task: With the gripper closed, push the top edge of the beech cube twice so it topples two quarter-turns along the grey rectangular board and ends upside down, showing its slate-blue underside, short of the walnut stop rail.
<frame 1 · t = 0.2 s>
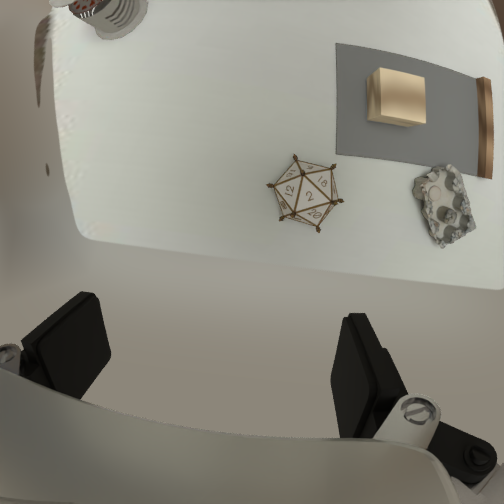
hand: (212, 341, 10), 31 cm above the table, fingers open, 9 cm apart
block: (386, 102, 33), resting on grey rectangular board
game die: (303, 189, 38), on the table
stop rail: (481, 127, 32), on the table
carved stone fragment: (438, 202, 37), on the table, touching grey rectangular board
grey rectangular board: (416, 109, 33), on the table
french press: (122, 10, 31), on the table
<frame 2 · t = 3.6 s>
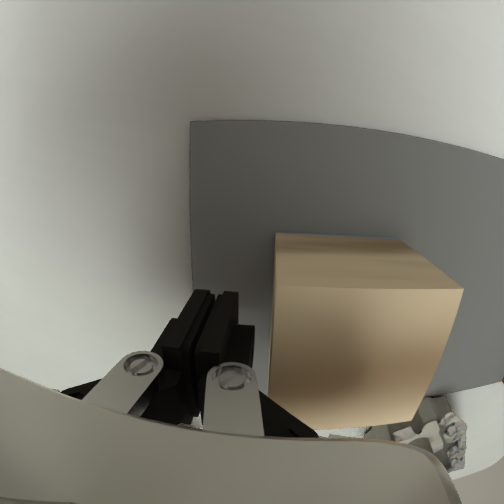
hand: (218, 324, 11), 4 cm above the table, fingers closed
block: (333, 293, 14), resting on grey rectangular board, touching gripper
carved stone fragment: (414, 434, 18), on the table, touching grey rectangular board
grey rectangular board: (414, 292, 14), on the table
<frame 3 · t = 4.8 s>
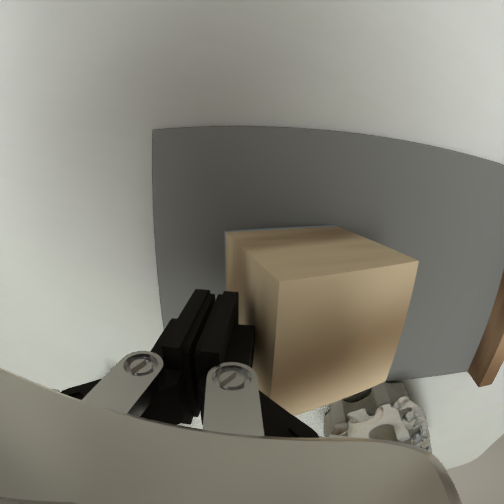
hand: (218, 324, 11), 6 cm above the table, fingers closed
block: (280, 284, 15), point 2 cm above the table, tilted 24°, touching gripper, grey rectangular board
carved stone fragment: (377, 420, 20), on the table, touching grey rectangular board
grey rectangular board: (356, 276, 17), on the table
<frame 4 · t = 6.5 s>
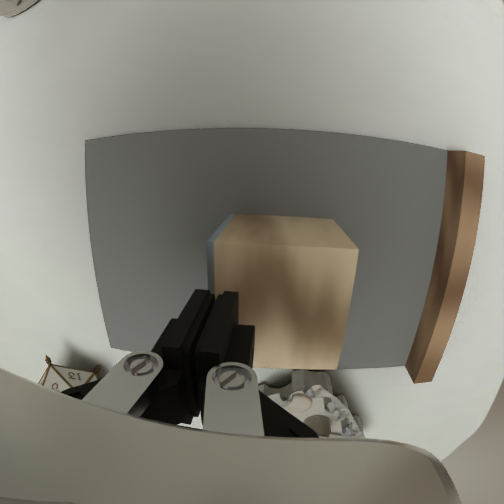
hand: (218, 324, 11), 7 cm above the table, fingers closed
block: (220, 281, 15), point 3 cm above the table, tilted 90°, touching grey rectangular board
game die: (91, 378, 24), on the table
stop rail: (439, 269, 18), on the table
carved stone fragment: (309, 409, 22), on the table, touching grey rectangular board
grey rectangular board: (258, 262, 18), on the table
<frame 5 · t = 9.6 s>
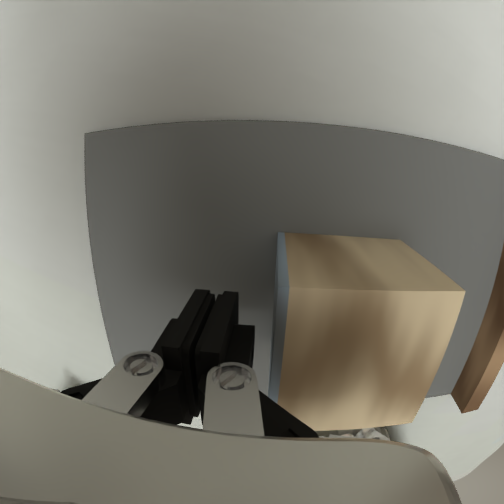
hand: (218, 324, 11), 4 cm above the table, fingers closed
block: (273, 324, 12), point 3 cm above the table, tilted 90°, touching gripper, grey rectangular board
stop rail: (496, 292, 14), on the table
carved stone fragment: (347, 443, 18), on the table, touching grey rectangular board
grey rectangular board: (309, 291, 15), on the table
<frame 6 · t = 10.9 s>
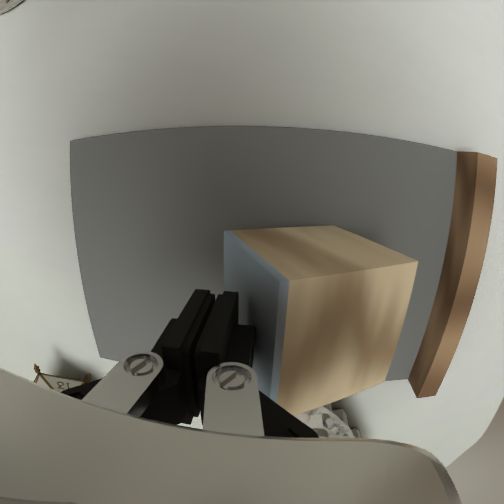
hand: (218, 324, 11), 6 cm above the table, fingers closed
block: (243, 321, 12), point 6 cm above the table, tilted 115°, touching gripper, grey rectangular board
game die: (82, 386, 22), on the table
stop rail: (446, 278, 16), on the table
carved stone fragment: (307, 423, 21), on the table, touching grey rectangular board
grey rectangular board: (253, 271, 17), on the table
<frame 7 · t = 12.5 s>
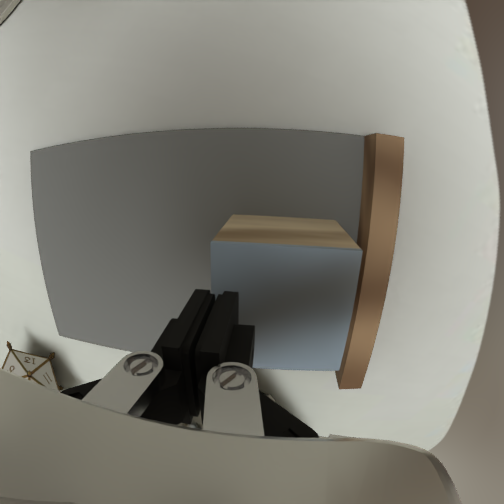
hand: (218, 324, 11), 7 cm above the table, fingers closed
block: (282, 315, 12), point 6 cm above the table, tilted 180°, touching grey rectangular board
game die: (49, 364, 24), on the table
stop rail: (364, 266, 18), on the table
grey rectangular board: (167, 257, 19), on the table
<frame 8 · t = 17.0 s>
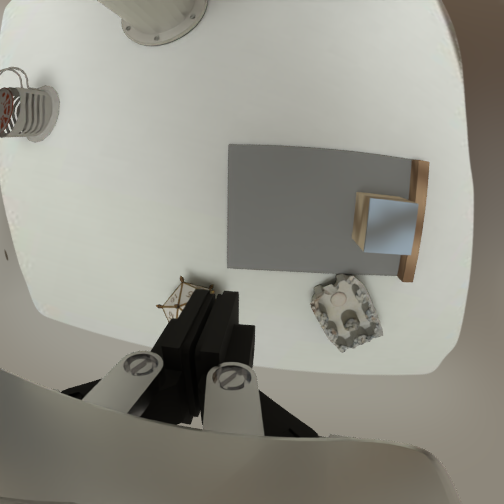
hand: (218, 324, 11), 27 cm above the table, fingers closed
block: (392, 227, 30), point 6 cm above the table, tilted 180°, touching grey rectangular board
game die: (200, 297, 42), on the table
stop rail: (410, 219, 36), on the table
carved stone fragment: (344, 306, 40), on the table, touching grey rectangular board
grey rectangular board: (321, 212, 37), on the table
french press: (41, 108, 35), on the table
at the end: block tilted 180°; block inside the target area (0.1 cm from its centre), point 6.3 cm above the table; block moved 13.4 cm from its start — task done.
